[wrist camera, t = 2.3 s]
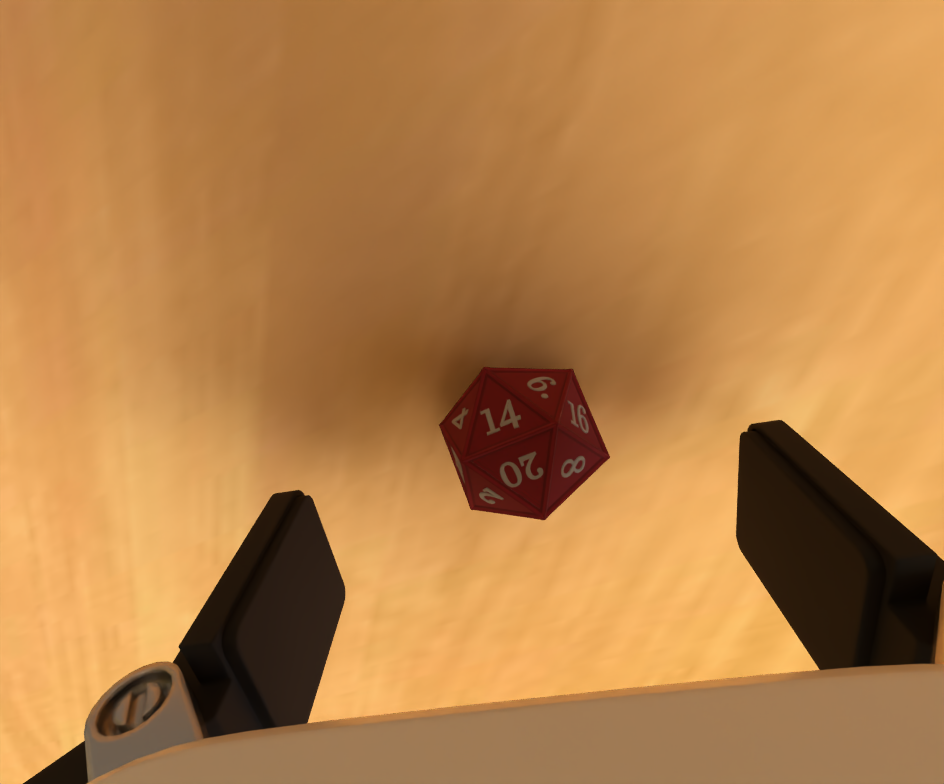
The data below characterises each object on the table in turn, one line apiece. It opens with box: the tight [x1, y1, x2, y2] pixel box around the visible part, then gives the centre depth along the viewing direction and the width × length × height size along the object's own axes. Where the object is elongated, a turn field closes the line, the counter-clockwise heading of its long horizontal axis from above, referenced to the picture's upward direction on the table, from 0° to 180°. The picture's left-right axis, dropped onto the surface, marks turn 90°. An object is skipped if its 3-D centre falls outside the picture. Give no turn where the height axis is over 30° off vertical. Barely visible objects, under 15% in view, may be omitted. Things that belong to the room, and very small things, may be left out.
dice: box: [439, 367, 610, 520], centre depth 13 cm, size 4×4×4 cm
